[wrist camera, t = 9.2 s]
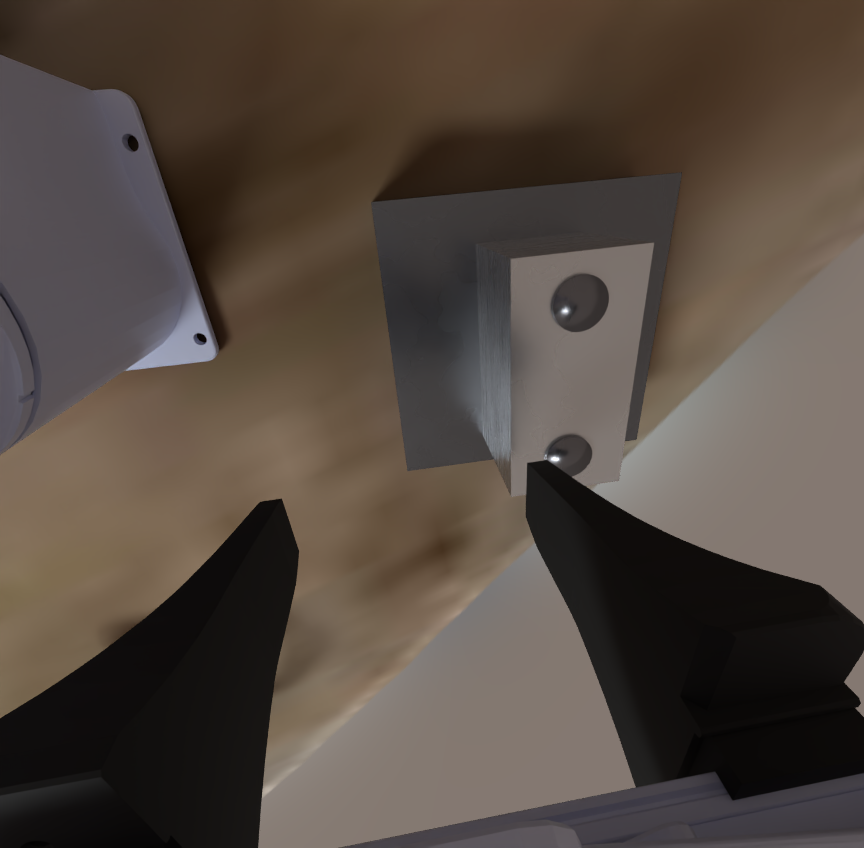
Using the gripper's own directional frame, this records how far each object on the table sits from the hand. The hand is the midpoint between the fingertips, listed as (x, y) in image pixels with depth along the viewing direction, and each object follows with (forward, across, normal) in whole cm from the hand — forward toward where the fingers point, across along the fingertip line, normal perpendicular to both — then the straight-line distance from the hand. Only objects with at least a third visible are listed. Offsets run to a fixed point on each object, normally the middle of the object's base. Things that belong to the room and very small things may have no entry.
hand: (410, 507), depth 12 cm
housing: (+6, -6, -2) cm, 9 cm away
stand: (+9, -6, -2) cm, 11 cm away
